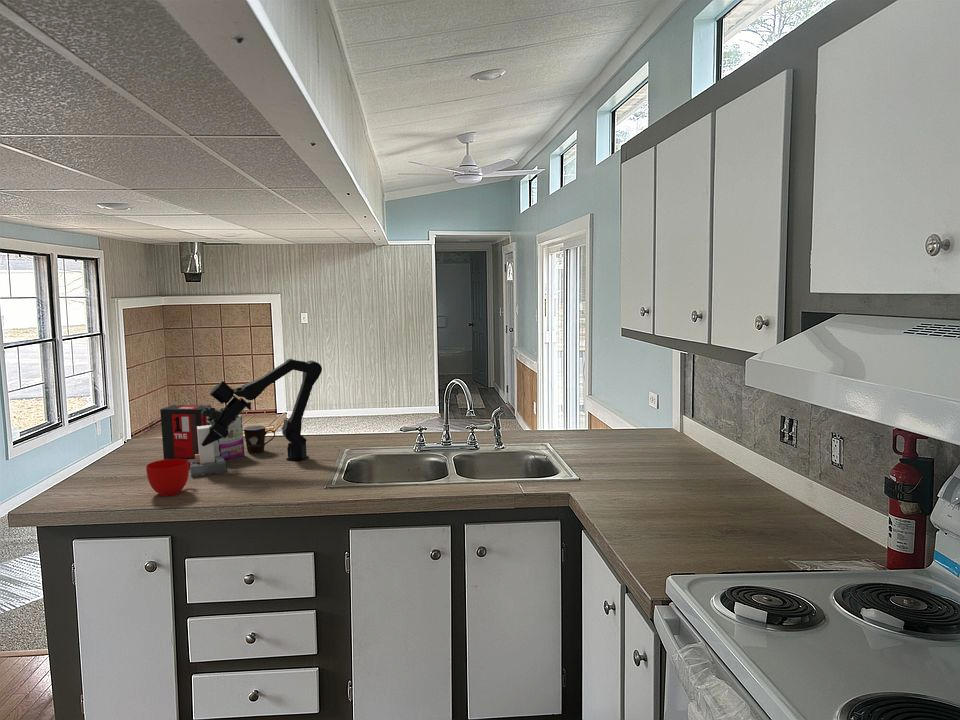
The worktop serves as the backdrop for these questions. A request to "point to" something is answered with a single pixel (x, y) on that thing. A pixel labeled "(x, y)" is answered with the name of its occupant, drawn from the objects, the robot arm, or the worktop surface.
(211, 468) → the keyed socket block
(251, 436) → the coffee mug
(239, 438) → the candy bar box
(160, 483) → the ceramic cup
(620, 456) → the worktop surface
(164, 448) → the cleaning product box
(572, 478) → the worktop surface
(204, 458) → the keyed peg
